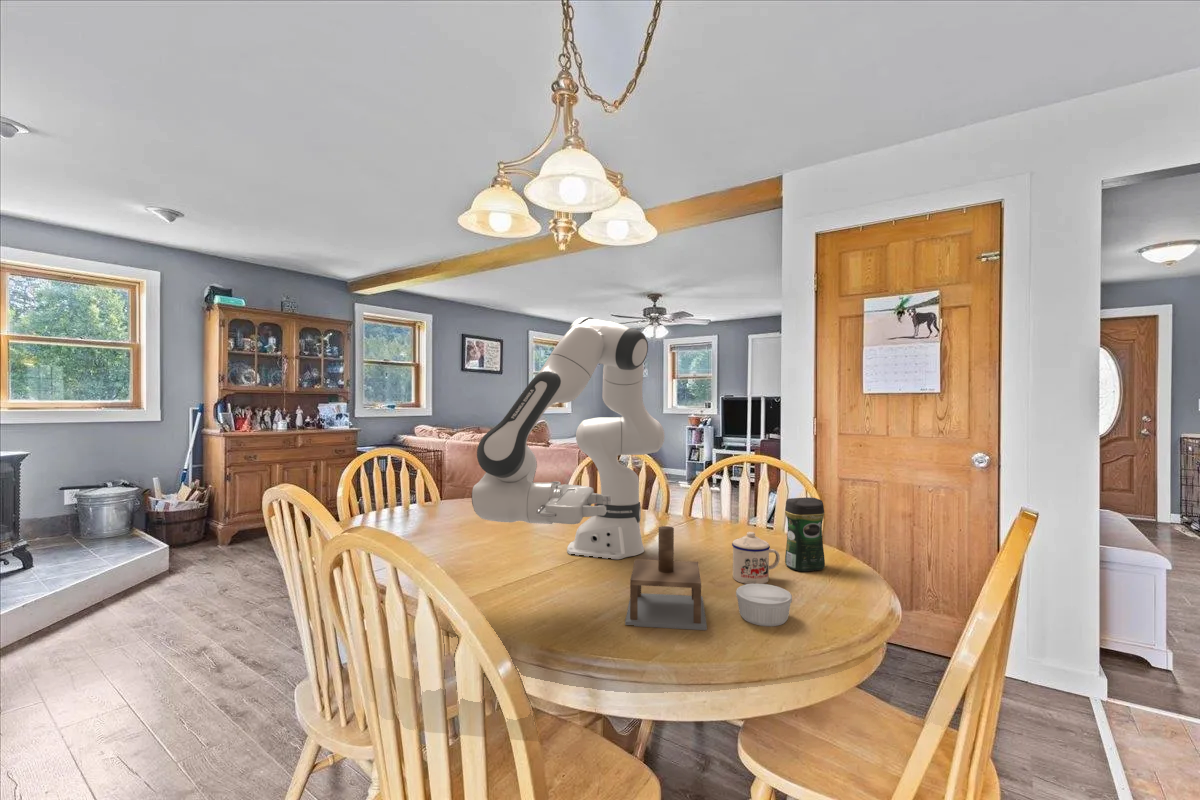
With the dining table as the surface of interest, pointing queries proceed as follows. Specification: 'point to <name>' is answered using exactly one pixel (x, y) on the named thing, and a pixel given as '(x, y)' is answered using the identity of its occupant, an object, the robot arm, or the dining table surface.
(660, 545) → the walnut cover
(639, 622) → the grey rubber mat
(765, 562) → the teacup with lid
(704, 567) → the dining table surface
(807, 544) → the coffee jar
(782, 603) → the ramekin
